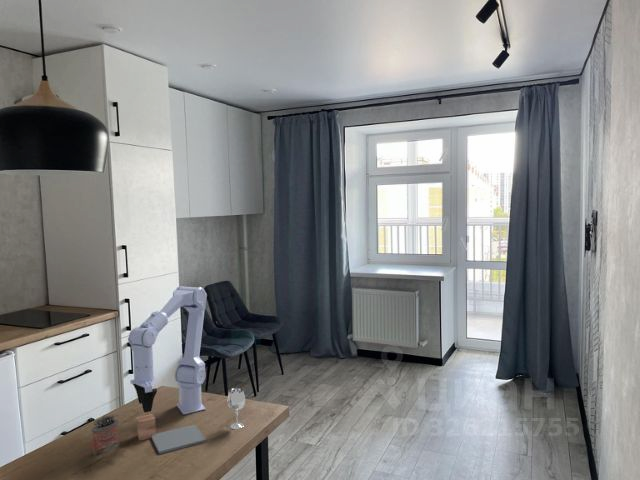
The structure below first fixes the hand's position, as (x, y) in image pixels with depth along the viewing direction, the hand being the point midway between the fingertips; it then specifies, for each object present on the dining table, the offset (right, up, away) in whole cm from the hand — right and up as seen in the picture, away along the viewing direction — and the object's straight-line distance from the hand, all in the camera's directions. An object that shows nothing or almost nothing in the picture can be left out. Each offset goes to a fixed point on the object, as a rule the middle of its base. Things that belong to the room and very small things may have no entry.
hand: (145, 407), depth 153 cm
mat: (+11, -9, -2) cm, 15 cm away
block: (0, -10, +1) cm, 10 cm away
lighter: (-9, -10, -7) cm, 16 cm away
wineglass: (+28, -9, +7) cm, 30 cm away
